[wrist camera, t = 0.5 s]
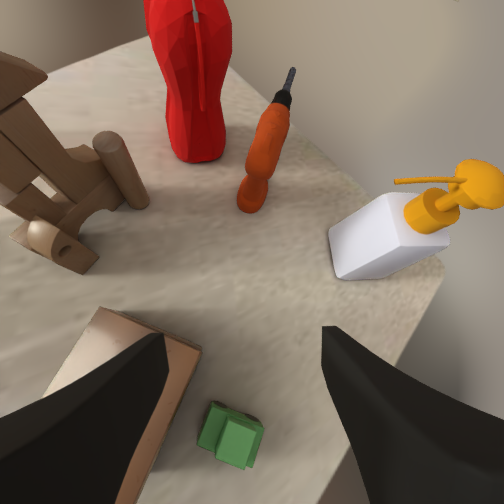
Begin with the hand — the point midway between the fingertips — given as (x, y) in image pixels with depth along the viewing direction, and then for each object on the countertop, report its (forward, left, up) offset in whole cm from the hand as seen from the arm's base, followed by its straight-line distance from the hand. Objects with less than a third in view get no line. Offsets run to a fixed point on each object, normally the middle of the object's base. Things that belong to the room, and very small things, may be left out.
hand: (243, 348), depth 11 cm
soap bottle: (+20, -14, -25) cm, 35 cm away
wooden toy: (+8, +23, -25) cm, 35 cm away
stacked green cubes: (-9, -5, -24) cm, 27 cm away
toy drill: (+28, +5, -25) cm, 38 cm away
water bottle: (+28, +17, -25) cm, 41 cm away
